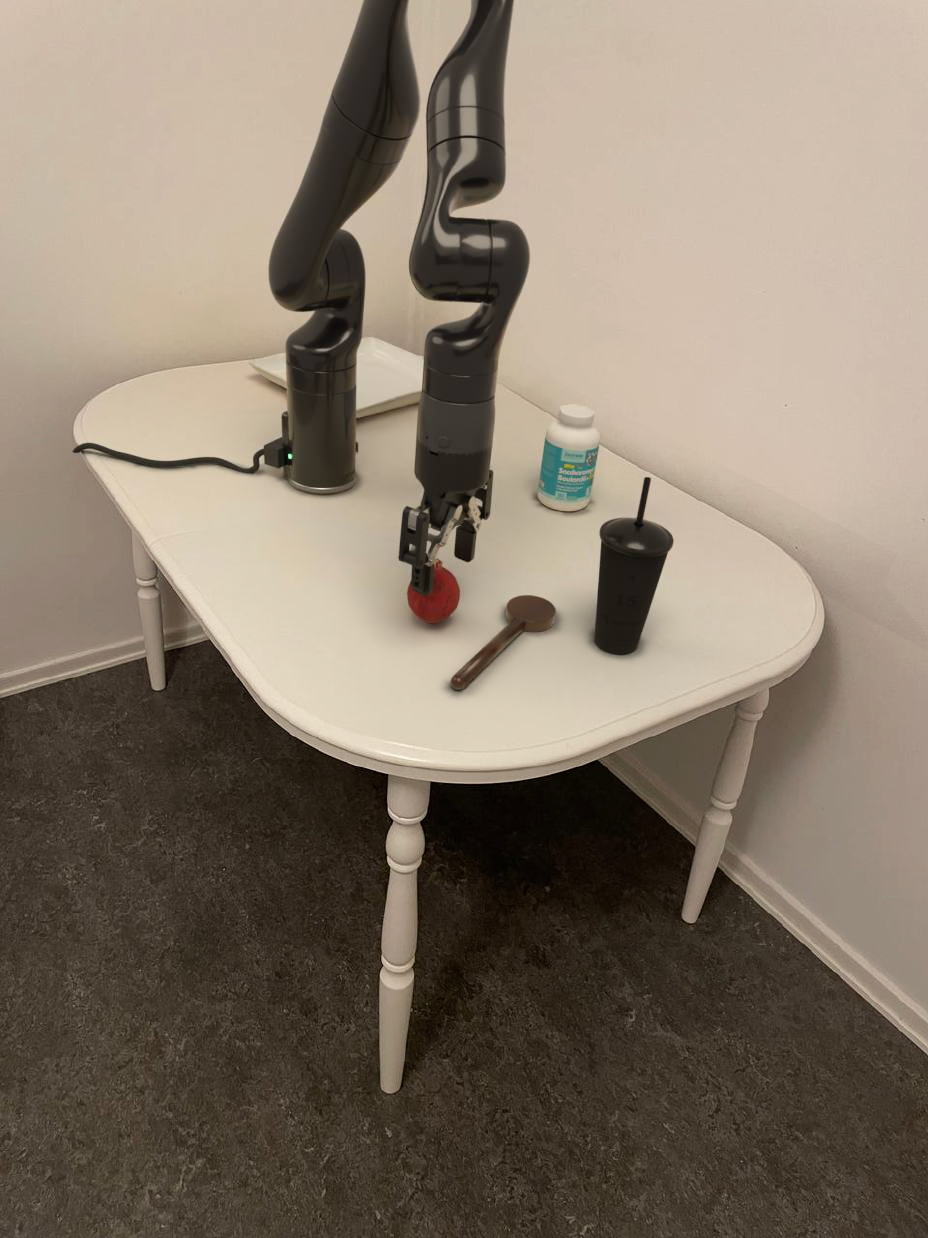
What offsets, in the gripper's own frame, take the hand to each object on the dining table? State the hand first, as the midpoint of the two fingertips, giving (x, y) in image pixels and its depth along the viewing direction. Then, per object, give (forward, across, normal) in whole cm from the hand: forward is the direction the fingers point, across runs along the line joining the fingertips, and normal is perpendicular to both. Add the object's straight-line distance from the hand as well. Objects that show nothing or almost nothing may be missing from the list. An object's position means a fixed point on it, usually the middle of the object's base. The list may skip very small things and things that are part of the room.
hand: (443, 575), depth 103 cm
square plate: (+8, -53, -50) cm, 73 cm away
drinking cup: (+7, -9, +17) cm, 21 cm away
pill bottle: (+7, -37, -3) cm, 38 cm away
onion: (+7, 0, -1) cm, 7 cm away
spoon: (+7, 0, +8) cm, 10 cm away
